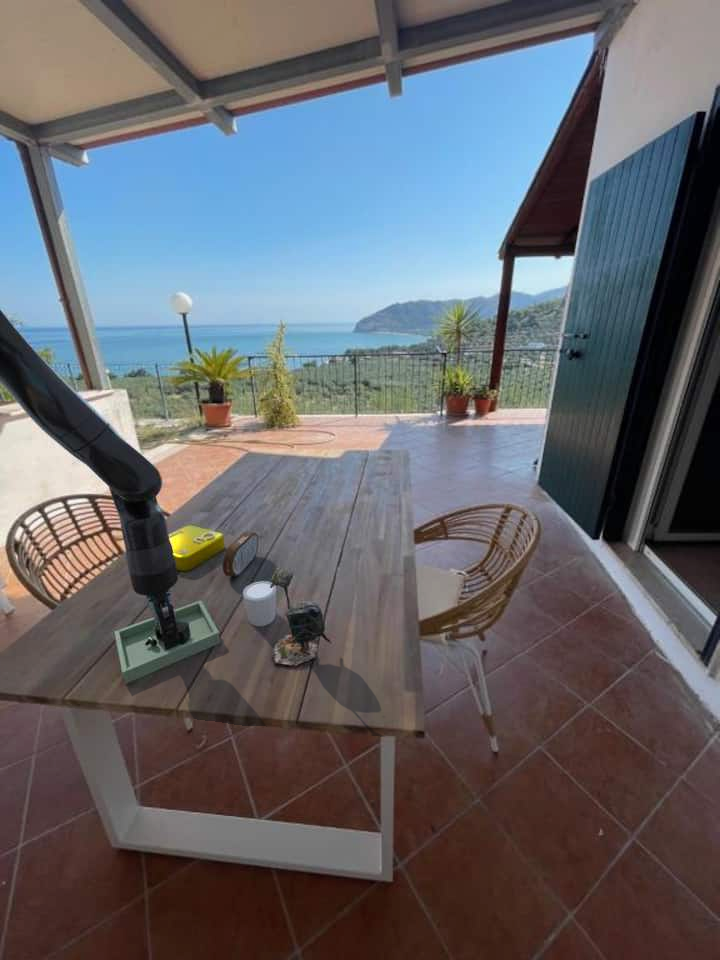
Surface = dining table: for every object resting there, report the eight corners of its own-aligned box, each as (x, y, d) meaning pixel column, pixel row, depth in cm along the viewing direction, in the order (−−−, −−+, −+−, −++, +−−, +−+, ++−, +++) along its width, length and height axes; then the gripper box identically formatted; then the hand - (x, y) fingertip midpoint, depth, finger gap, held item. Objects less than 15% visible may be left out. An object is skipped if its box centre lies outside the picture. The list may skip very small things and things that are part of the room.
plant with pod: (324, 673, 70) (320, 578, 63) (265, 664, 72) (254, 571, 65) (334, 641, 77) (332, 553, 71) (281, 634, 79) (273, 547, 73)
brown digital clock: (251, 552, 110) (248, 525, 107) (261, 553, 110) (258, 526, 107) (223, 582, 96) (219, 552, 94) (234, 583, 96) (231, 553, 93)
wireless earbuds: (161, 631, 79) (158, 618, 78) (192, 636, 78) (190, 623, 77) (145, 647, 75) (141, 634, 74) (177, 653, 74) (174, 639, 72)
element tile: (191, 536, 119) (188, 522, 118) (228, 547, 113) (226, 532, 111) (147, 559, 106) (143, 544, 105) (185, 573, 100) (183, 557, 99)
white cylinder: (239, 623, 82) (235, 595, 80) (258, 604, 88) (255, 577, 86) (266, 631, 80) (263, 603, 78) (284, 611, 86) (282, 584, 84)
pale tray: (125, 684, 68) (122, 672, 67) (117, 641, 77) (114, 631, 76) (220, 643, 77) (219, 632, 76) (202, 609, 87) (201, 600, 86)
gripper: (123, 552, 74) (139, 622, 80) (134, 588, 63) (152, 666, 69) (165, 541, 79) (178, 608, 84) (183, 573, 68) (196, 647, 73)
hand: (166, 634), depth 76 cm, fingers open, 8 cm apart
